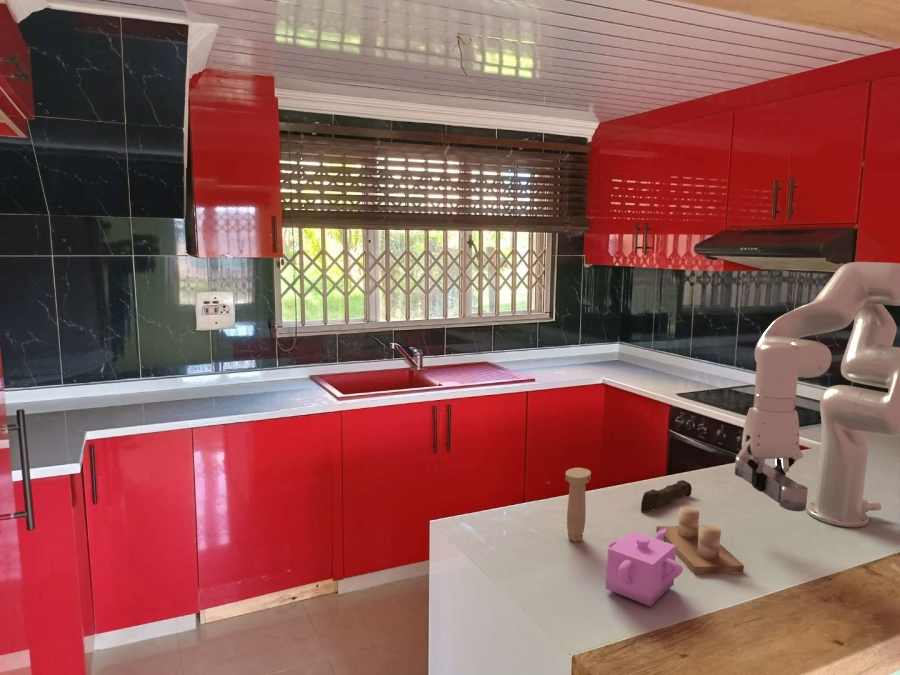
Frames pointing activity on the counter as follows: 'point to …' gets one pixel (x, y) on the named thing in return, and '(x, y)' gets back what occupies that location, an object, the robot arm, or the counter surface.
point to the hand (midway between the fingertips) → (767, 487)
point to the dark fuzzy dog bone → (665, 495)
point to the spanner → (776, 486)
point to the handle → (576, 502)
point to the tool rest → (699, 545)
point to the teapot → (641, 567)
